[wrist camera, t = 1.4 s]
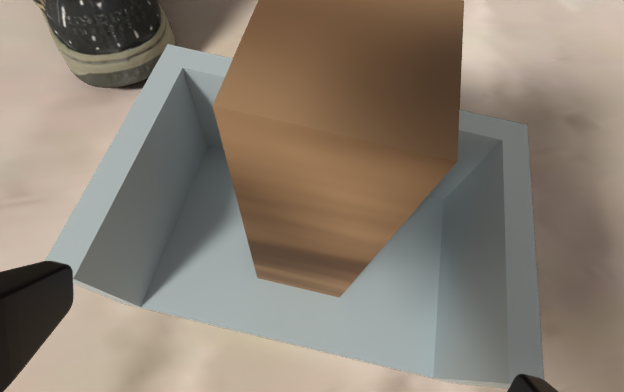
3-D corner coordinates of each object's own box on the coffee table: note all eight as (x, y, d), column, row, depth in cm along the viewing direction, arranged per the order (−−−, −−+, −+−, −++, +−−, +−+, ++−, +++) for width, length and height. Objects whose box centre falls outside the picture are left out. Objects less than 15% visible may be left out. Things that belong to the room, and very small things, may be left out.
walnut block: (339, 297, 19) (457, 161, 6) (257, 278, 19) (212, 105, 6) (353, 220, 21) (463, 1, 8) (278, 203, 21) (276, -41, 8)
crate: (452, 383, 18) (544, 392, 12) (121, 303, 18) (39, 270, 12) (459, 191, 23) (527, 124, 17) (198, 131, 23) (167, 43, 17)
